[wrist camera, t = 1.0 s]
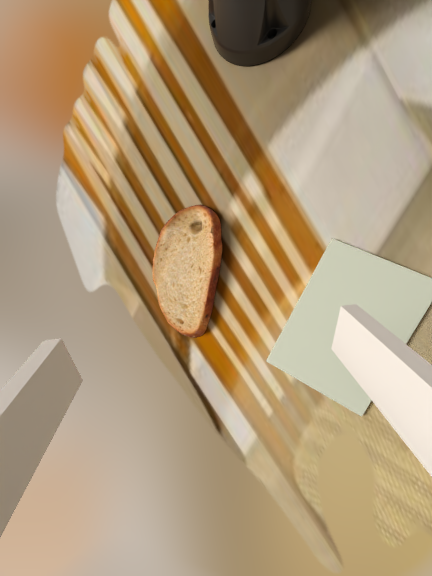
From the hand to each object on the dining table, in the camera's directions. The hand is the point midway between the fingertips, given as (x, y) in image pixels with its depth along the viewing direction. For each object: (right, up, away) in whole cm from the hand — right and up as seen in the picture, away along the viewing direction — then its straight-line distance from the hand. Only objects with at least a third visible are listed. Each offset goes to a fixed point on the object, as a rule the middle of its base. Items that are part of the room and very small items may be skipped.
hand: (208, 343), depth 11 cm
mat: (+18, -2, +20) cm, 27 cm away
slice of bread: (-3, +6, +27) cm, 28 cm away
